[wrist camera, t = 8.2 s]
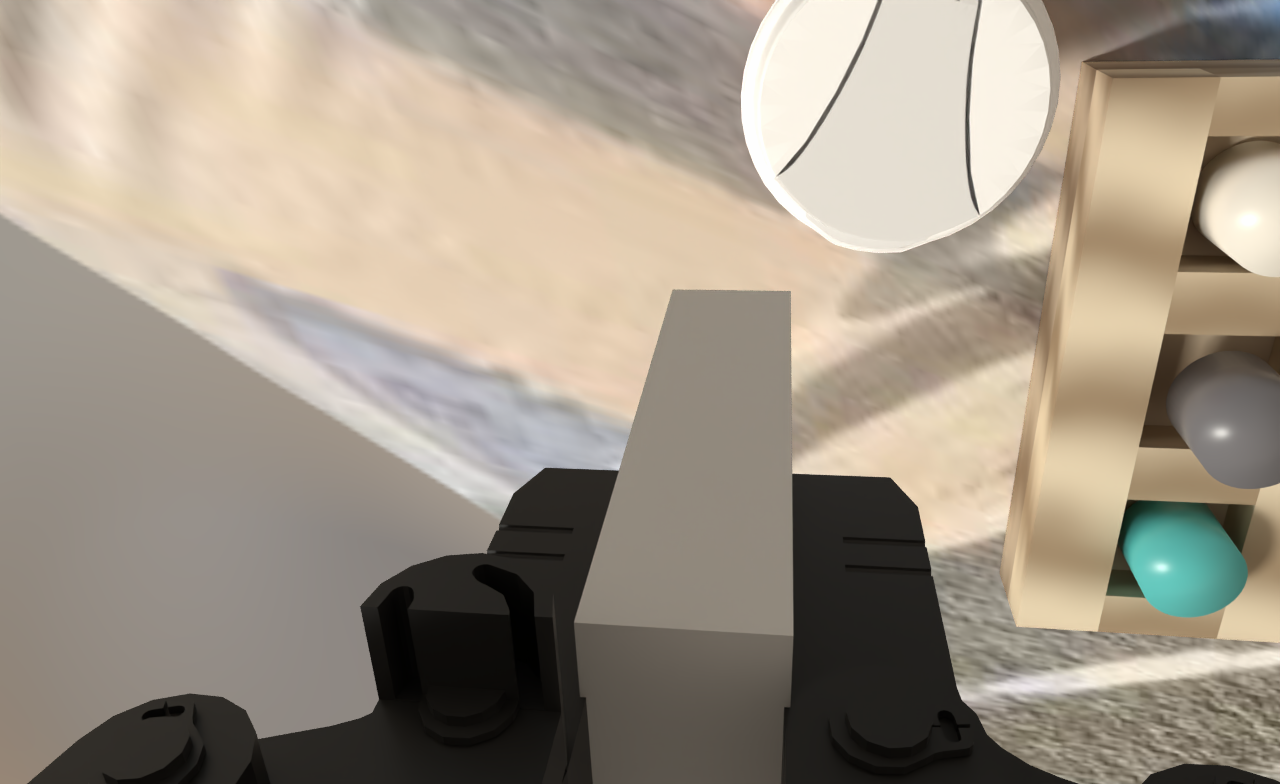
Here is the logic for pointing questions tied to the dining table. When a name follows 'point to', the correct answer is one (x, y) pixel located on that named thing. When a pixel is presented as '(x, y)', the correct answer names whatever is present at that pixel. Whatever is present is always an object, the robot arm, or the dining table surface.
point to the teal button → (1181, 557)
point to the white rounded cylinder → (1242, 205)
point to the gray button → (1230, 417)
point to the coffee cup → (898, 112)
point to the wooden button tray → (1139, 351)
